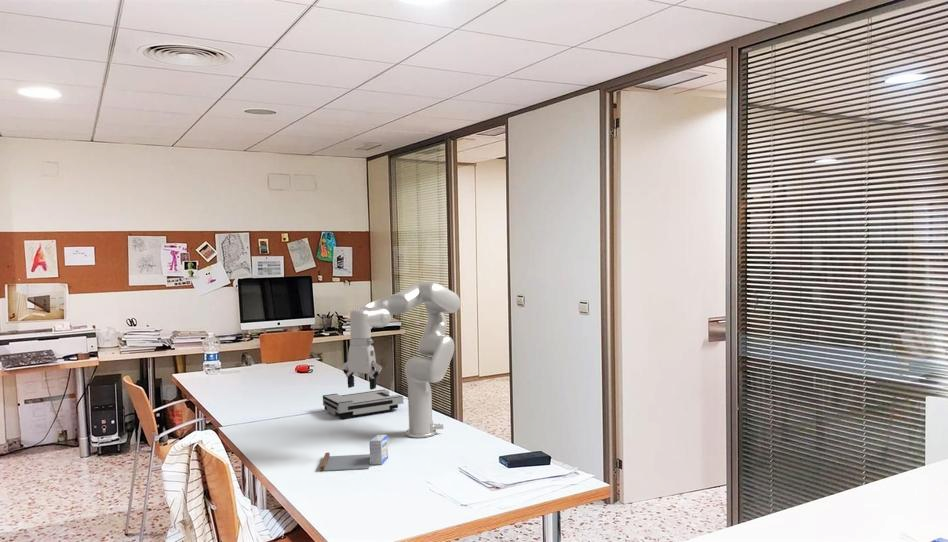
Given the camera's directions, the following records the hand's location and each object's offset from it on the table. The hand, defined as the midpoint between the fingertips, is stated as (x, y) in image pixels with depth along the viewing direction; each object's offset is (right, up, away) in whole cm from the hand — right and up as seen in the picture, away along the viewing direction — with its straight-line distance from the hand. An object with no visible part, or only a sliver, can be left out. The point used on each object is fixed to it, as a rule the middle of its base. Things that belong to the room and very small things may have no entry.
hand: (362, 388), depth 254 cm
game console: (-10, -23, +66) cm, 71 cm away
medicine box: (+8, -25, -11) cm, 28 cm away
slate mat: (-3, -25, -12) cm, 28 cm away
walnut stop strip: (-11, -25, -13) cm, 30 cm away
